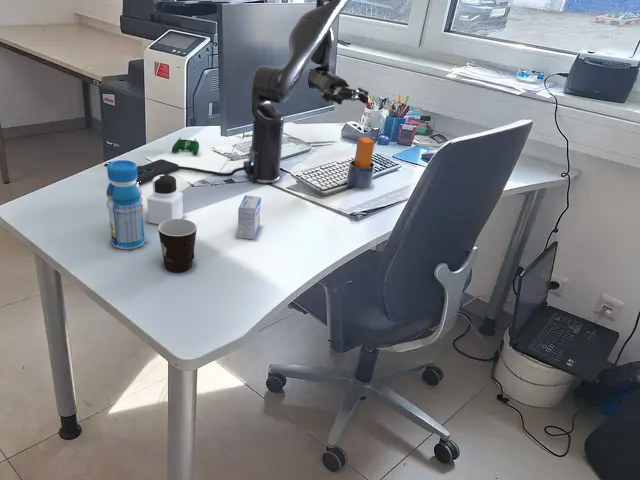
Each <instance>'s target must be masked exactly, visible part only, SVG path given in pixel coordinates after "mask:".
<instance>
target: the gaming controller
mask: <svg viewBox="0 0 640 480" xmlns="http://www.w3.org/2000/svg"><path fill="white" fill-rule="evenodd" d="M179 150H181V151H189V152H192V154H193V156H197V155H198V153H199V151H200V142H199V141H198V140H197V139H196V138H194V139H193V140H192V139H183V138H182V137H181V136H179V137H178V139H177V140H176V141H175V143H174V144H173V145H172V147H171V152H172V153H177V152H179Z"/></svg>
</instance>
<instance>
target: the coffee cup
mask: <svg viewBox="0 0 640 480" xmlns="http://www.w3.org/2000/svg"><path fill="white" fill-rule="evenodd" d="M354 161H355V159H352V160H350V161H349V162H348V163H349V164H348V169H347V174H346V175H347V176H346V185H347V186H349V187H351V188H353V189H359V190H366V189H370V188H371V187H372V184H373V178H374V173H375V169H376V164H375V163H374V162H372V161H371V164H370V168H360V167H356V166H354Z"/></svg>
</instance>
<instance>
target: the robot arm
mask: <svg viewBox="0 0 640 480" xmlns="http://www.w3.org/2000/svg"><path fill="white" fill-rule="evenodd" d="M351 1H352V0H316V4H315V8H313V9H311V10H308V11H306V12H305V13H304V14H302V15H301V16H300V18H299V19H298V20H297V22H296V23H295V25H294V26H293V28H292V29H291V31H290V34H289V36H288V37H289V38H288V49H289V60H288V61H287V63H286V64H285V66H284V67H282V68H280V67H274V66H268V65H260V66H258V67H257V68H256V70H255V71H254V74H253V77H252V81H251V116H252V133H251V146H249V150H248V151H249V153H248V155H249V156H248V160H247V161H243V165H242V167H238V168H235V169H233V170H232V171H231V172H220V171H219V172H218V171H213V170H208V169H202V168H195V167H191V166H181V165H178V170H185V171H193V172H197V173H202V174H207V175H208V174H209V175H214V176H220V177H229V176H234V174H236V172H237V173H238V172H240V171H244V173H245V175H247V176H248V178H249V179H250V180H251V182H252V183H258V184H265V185H267V184H275V183H277V182H279V181H280V175H281V173H280V172H281V161H282V160H281V159H282V146H283V136H284V125H285V117H284V116H285V115H284V114H283V113H282V112H281V111H279V110H278V109H277V108H276V107H275V106H274V105H273V103H275V104H283V103H285V102H286V101H287V100H288V99H289V98H290V97H291V95H292V93H293V92H294V89H295V88H296V85H297V83H298V82H299V79H301V74H302V72H303V70H304V68H305V67H307V65H308V63H309V62H310V61H311V62H312V63H313V64H315V65H321V66H319V67H317V68H315V69H310V72H309V76H308V85H309V88H310V90H313V91H317V92H319V93H321V95H320V98H321V99H323V100H324V101H325V102H327V103H328V102H332V103H335V104H338V105H342V104H343V102H344V101H352V102H356V101H359V102H361V103H362V104H365V105H366V104H367V103H368V102H369V98H370V97H369V93H370V91H368V90H366V89H364V88H362V87H358V88H353V87H351V86H350V84H349V82H348V81H347V80H346V79H344V78H342V77H341V76H339V75H337V74H335V73H332V71H331V57H332V53H333V48H334V44H335V32H334V28H333V25H334V23H335V21H336V20H337V19H338V18H339V17H340V15H341V14H342V13H343V11H344V10H345V9H346V7H348V5H349V4H350V2H351ZM310 58H311V59H310ZM309 88H308V89H309ZM111 162H112V161H108V162H106V163H104V165H103V167H107V165H108V164H107V163H111ZM137 166H138V167H140V166H141V165H137ZM138 167H137V168H138Z"/></svg>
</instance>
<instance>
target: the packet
mask: <svg viewBox="0 0 640 480" xmlns="http://www.w3.org/2000/svg"><path fill="white" fill-rule="evenodd" d="M356 143H357V144H356V150H355V156H354V160H355V161H354V166H356V167H360V168H370V164H371V162H372V157H373V153H374V147H375V141H373V140H372V139H371V138H370V137H368V136H367V137H365V136H364V137H357V142H356Z"/></svg>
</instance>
